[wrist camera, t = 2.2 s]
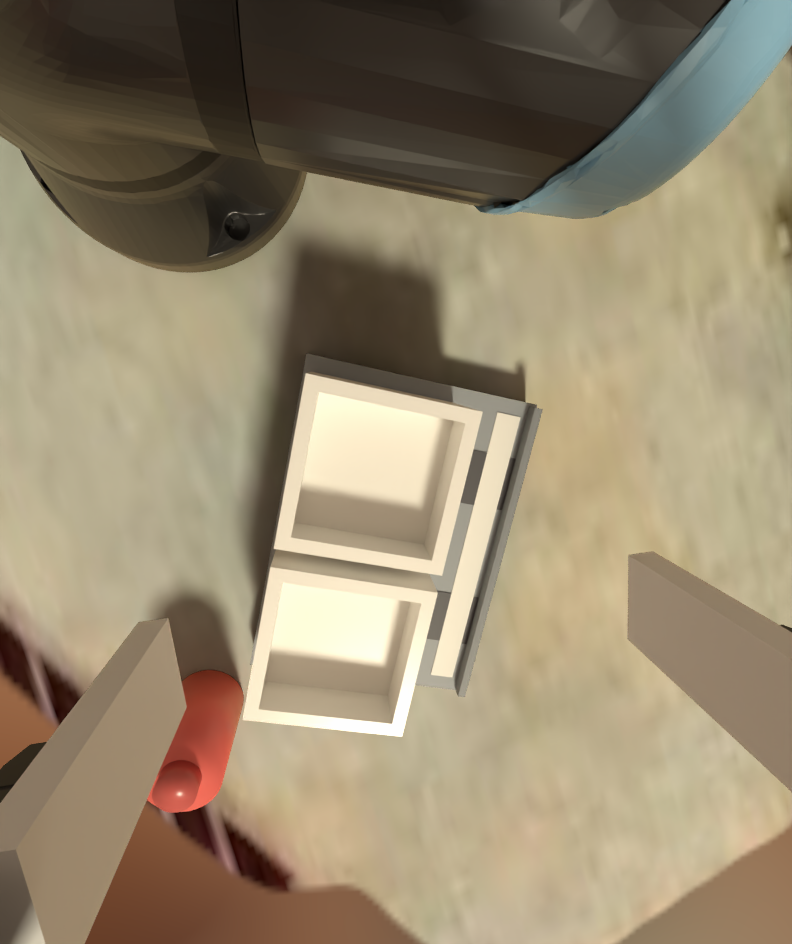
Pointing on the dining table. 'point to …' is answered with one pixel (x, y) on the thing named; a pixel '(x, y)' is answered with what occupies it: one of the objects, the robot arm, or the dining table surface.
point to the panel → (477, 521)
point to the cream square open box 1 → (375, 475)
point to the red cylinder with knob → (199, 743)
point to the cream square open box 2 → (339, 644)
